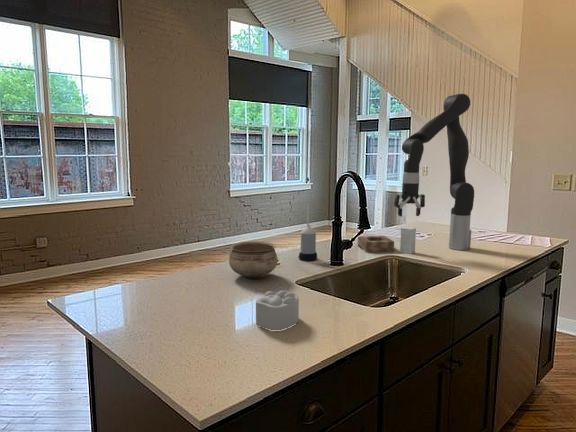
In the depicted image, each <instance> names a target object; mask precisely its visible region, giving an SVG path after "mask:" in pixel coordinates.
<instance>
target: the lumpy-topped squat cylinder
mask: <svg viewBox="0 0 576 432" xmlns="http://www.w3.org/2000/svg"><path fill="white" fill-rule="evenodd" d="M299 306H300V301H299V295H297V294H296V293H294V292H291V291H287V290H280V291H278V292H276V291H275V292H274V291H270V290H269V291H266V292H265V294H264V295H263V296H261V297H259V298H256V300H255V326H256V325H257V326H260V327H264V328H267V329H270V330H282V329H285V328H288V327H290V326H292V325H294V324H296V323H297V322H298V323H299V321H298V319H300V318H299V312H300V311H299V308H300V307H299ZM257 326H256V327H257ZM260 327H259V328H260ZM264 328H263V329H264Z"/></svg>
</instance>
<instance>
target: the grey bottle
mask: <svg viewBox="0 0 576 432" xmlns="http://www.w3.org/2000/svg"><path fill="white" fill-rule="evenodd" d="M306 207H307V208H306V212H307V213H306V214H307V217H306V227H305V228H303V229H302V230H301V232H300V252H299V254H298V257H297V258H298V259H299V261H301V262H316V261H318V253H317V252H316V251H317V249H316V247H317V246H316V245H317V243H316V241H317V237H316V234H317V233H316V231H315V229H314V228H312V225H313V223H312V220H313V219H311V223H310V216H313V215H312V210H313V209H311V212H310V204H307V205H306ZM310 214H311V215H310ZM310 224H311V225H310Z"/></svg>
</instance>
